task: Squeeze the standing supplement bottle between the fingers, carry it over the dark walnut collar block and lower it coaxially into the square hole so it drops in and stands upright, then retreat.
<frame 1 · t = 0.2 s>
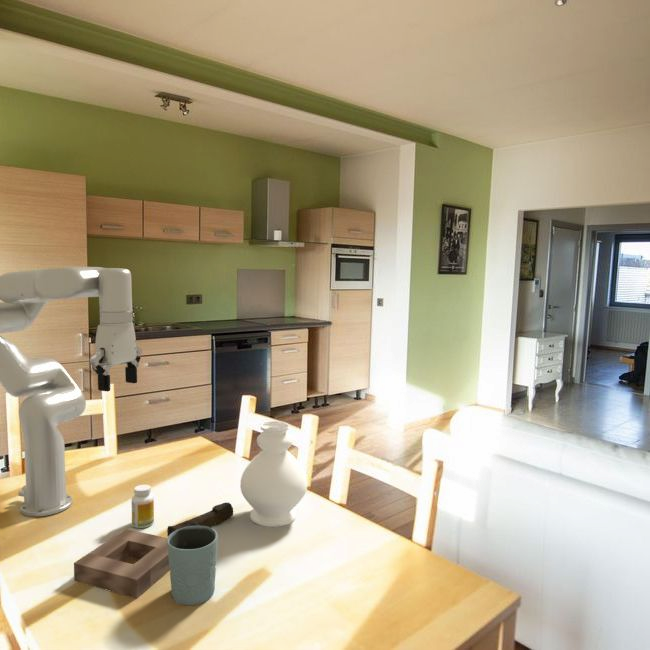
hand: (118, 386, 135), 36 cm above the table, tool pointing down, fingers open, 9 cm apart
hand tool: (201, 529, 138), on the table
supplement bottle: (143, 524, 139), on the table
decorative vase: (273, 516, 145), on the table
collar block: (131, 569, 119), on the table
blue grey cup: (192, 592, 111), on the table
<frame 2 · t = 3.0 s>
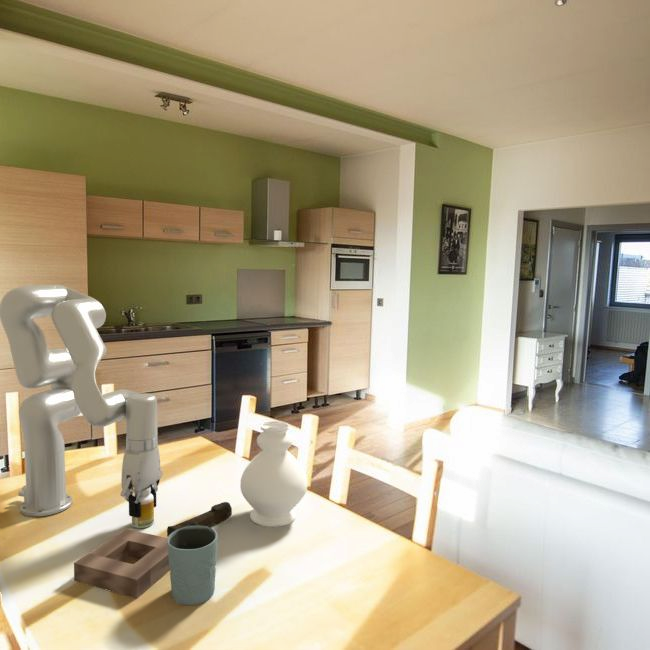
hand: (142, 510, 139), 4 cm above the table, tool pointing down, fingers closed on supplement bottle, 5 cm apart
supplement bottle: (143, 524, 139), on the table, touching gripper
everything else where it was.
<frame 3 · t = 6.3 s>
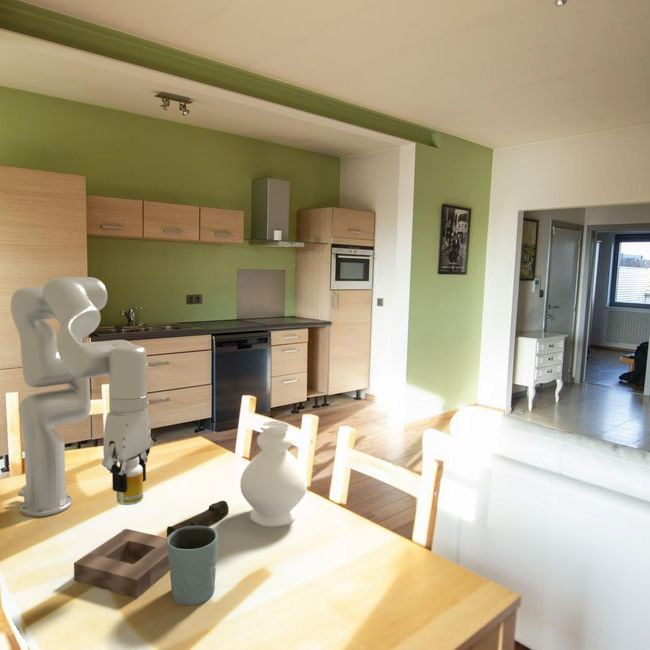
hand: (129, 484, 117), 19 cm above the table, tool pointing down, fingers closed on supplement bottle, 5 cm apart
supplement bottle: (130, 501, 117), point 16 cm above the table, touching gripper
when the fingers open (5 cm above the table, at t = 9.7 s): supplement bottle drops 2 cm, resting in collar block.
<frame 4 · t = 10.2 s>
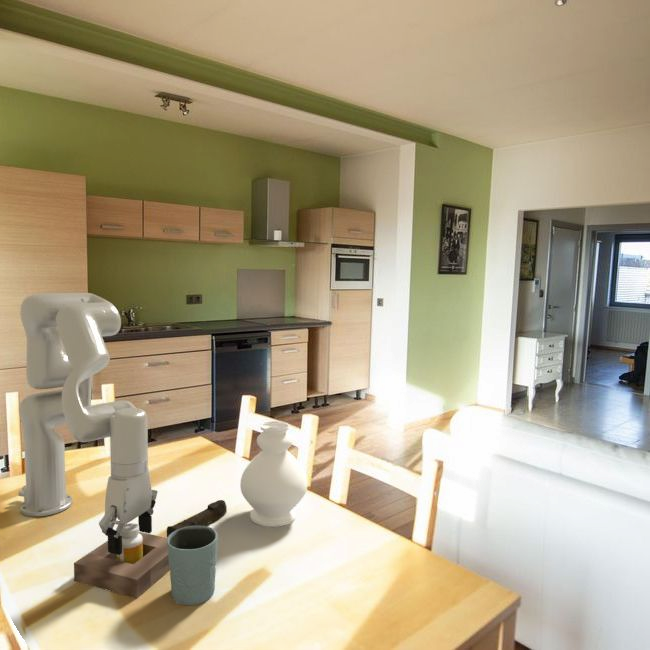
hand: (130, 542, 118), 6 cm above the table, tool pointing down, fingers open, 9 cm apart
supplement bottle: (130, 570, 119), resting in collar block
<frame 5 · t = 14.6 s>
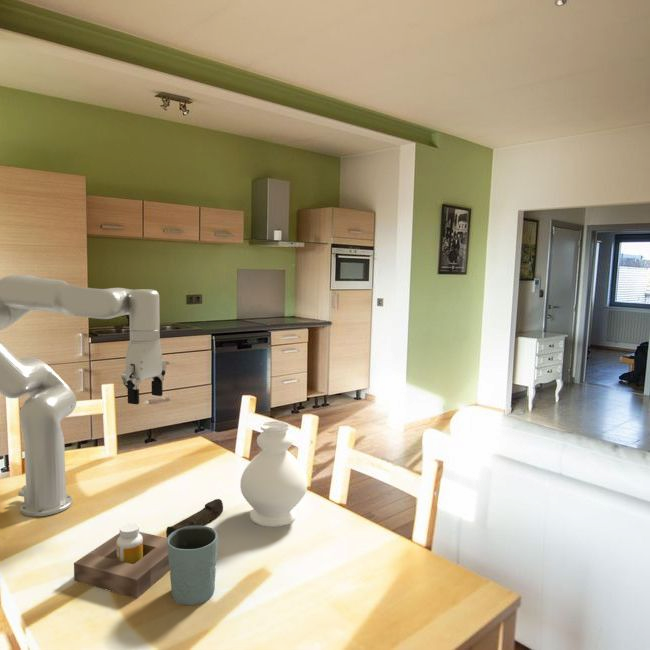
hand: (145, 399, 145), 30 cm above the table, tool pointing down, fingers open, 9 cm apart
at the end: supplement bottle 0.1 cm off-centre on the collar block, point 0.0 cm above the collar block's base; supplement bottle tilted 0°; the gripper is holding nothing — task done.
